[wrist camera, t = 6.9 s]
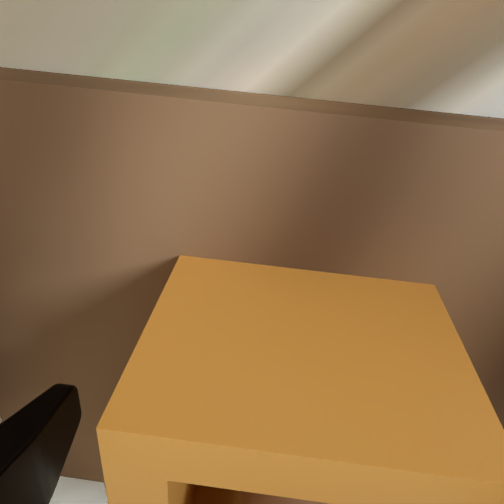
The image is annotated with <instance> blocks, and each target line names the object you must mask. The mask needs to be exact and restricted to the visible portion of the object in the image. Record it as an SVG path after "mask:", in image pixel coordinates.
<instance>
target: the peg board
mask: <svg viewBox="0 0 504 504" xmlns="http://www.w3.org/2000/svg"><path fill="white" fill-rule="evenodd" d="M180 255H183V256H191V257H200V258H208V259H217V260H225V261H234V262H243V263H251V264H260V265H268V266H277V267H286V268H294V269H303V270H311V271H320V272H329V273H337V274H346V275H354V276H363V277H372V278H380V279H389V280H397V281H406V282H415V283H423V284H432V285H435V287H436V289H437V291H438V293H439V295H440V297H441V299H442V302H443V304H444V306H445V308H446V310H447V312H448V314H449V316H450V318H451V320H452V322H453V325H454V327H455V329H456V331H457V333H458V335H459V337H460V339H461V341H462V343H463V345H464V347H465V350H466V352H467V354H468V356H469V358H470V360H471V362H472V364H473V366H474V368H475V370H476V373H477V375H478V377H479V379H480V381H481V383H482V385H483V387H484V389H485V391H486V393H487V396H488V398H489V400H490V402H491V404H492V406H493V408H494V410H495V412H496V414H497V416H498V419H499V421H500V423H501V425H502V427H503V429H504V119H501V118H491V117H481V116H471V115H462V114H452V113H442V112H432V111H423V110H413V109H403V108H393V107H383V106H374V105H364V104H354V103H344V102H335V101H325V100H315V99H305V98H295V97H286V96H276V95H266V94H256V93H247V92H237V91H227V90H217V89H207V88H198V87H188V86H178V85H168V84H159V83H149V82H139V81H129V80H119V79H110V78H100V77H90V76H80V75H71V74H61V73H51V72H41V71H31V70H22V69H12V68H2V67H0V415H1V418H2V421H5V420H6V419H7V418H9V417H10V416H12V415H13V414H14V413H16V412H17V411H18V410H20V409H21V408H23V407H24V406H25V405H27V404H28V403H29V402H31V401H32V400H34V399H35V398H36V397H38V396H39V395H40V394H42V393H43V392H45V391H46V390H47V389H49V388H50V387H52V386H53V385H55V384H58V383H62V384H69V385H74V386H76V387H77V389H78V394H79V399H80V405H81V412H82V413H81V420H80V423H79V426H78V429H77V432H76V434H75V437H74V440H73V442H72V445H71V448H70V450H69V453H68V456H67V458H66V461H65V464H64V467H63V469H62V472H61V475H60V476H65V477H71V478H78V479H85V480H92V481H99V482H104V475H103V469H102V463H101V457H100V450H99V444H98V438H97V431H96V427H97V425H98V423H99V421H100V419H101V417H102V415H103V413H104V411H105V409H106V407H107V404H108V402H109V400H110V398H111V396H112V394H113V392H114V390H115V388H116V386H117V384H118V382H119V380H120V378H121V376H122V374H123V371H124V369H125V367H126V365H127V363H128V361H129V359H130V357H131V355H132V353H133V351H134V349H135V347H136V345H137V343H138V341H139V339H140V336H141V334H142V332H143V330H144V328H145V326H146V324H147V322H148V320H149V318H150V316H151V314H152V312H153V310H154V308H155V306H156V303H157V301H158V299H159V297H160V295H161V293H162V291H163V289H164V287H165V285H166V283H167V281H168V279H169V277H170V275H171V273H172V271H173V268H174V266H175V264H176V262H177V260H178V258H179V256H180ZM238 504H329V503H322V502H315V501H308V500H301V499H294V498H287V497H280V496H273V495H266V494H259V493H252V492H245V491H239V497H238Z"/></svg>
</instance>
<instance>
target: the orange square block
mask: <svg viewBox="0 0 504 504" xmlns="http://www.w3.org/2000/svg"><path fill="white" fill-rule="evenodd" d="M96 431H97V438H98V444H99V450H100V457H101V463H102V469H103V475H104V482H105V488H106V494H107V501H108V504H238V497H239V491H245V492H252V493H259V494H266V495H273V496H280V497H287V498H294V499H301V500H308V501H315V502H322V503H329V504H504V429H503V427H502V425H501V423H500V421H499V419H498V416H497V414H496V412H495V410H494V408H493V406H492V404H491V402H490V400H489V398H488V396H487V393H486V391H485V389H484V387H483V385H482V383H481V381H480V379H479V377H478V375H477V373H476V370H475V368H474V366H473V364H472V362H471V360H470V358H469V356H468V354H467V352H466V350H465V347H464V345H463V343H462V341H461V339H460V337H459V335H458V333H457V331H456V329H455V327H454V325H453V322H452V320H451V318H450V316H449V314H448V312H447V310H446V308H445V306H444V304H443V302H442V299H441V297H440V295H439V293H438V291H437V289H436V287H435V285H432V284H423V283H415V282H406V281H397V280H389V279H380V278H372V277H363V276H354V275H346V274H337V273H329V272H320V271H311V270H303V269H294V268H286V267H277V266H268V265H260V264H251V263H243V262H234V261H225V260H217V259H208V258H200V257H191V256H183V255H180V256H179V258H178V260H177V262H176V264H175V266H174V268H173V271H172V273H171V275H170V277H169V279H168V281H167V283H166V285H165V287H164V289H163V291H162V293H161V295H160V297H159V299H158V301H157V303H156V306H155V308H154V310H153V312H152V314H151V316H150V318H149V320H148V322H147V324H146V326H145V328H144V330H143V332H142V334H141V336H140V339H139V341H138V343H137V345H136V347H135V349H134V351H133V353H132V355H131V357H130V359H129V361H128V363H127V365H126V367H125V369H124V371H123V374H122V376H121V378H120V380H119V382H118V384H117V386H116V388H115V390H114V392H113V394H112V396H111V398H110V400H109V402H108V404H107V407H106V409H105V411H104V413H103V415H102V417H101V419H100V421H99V423H98V425H97V427H96Z"/></svg>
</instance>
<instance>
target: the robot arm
mask: <svg viewBox="0 0 504 504" xmlns="http://www.w3.org/2000/svg"><path fill="white" fill-rule="evenodd" d="M81 413H82V412H81V405H80V399H79V394H78V389H77V387H76V386H74V385H69V384H62V383H58V384H55V385H53V386H52V387H50V388H49V389H47V390H46V391H45V392H43V393H42V394H40V395H39V396H38V397H36V398H35V399H34V400H32V401H31V402H29V403H28V404H27V405H25V406H24V407H23V408H21V409H20V410H18V411H17V412H16V413H14V414H13V415H12V416H10V417H9V418H7V419H6V420H5V421H3V422H2V423H0V504H49V502H50V500H51V497H52V495H53V493H54V490H55V488H56V485H57V483H58V480H59V477H60V475H61V472H62V469H63V467H64V464H65V461H66V458H67V456H68V453H69V450H70V448H71V445H72V442H73V440H74V437H75V434H76V432H77V429H78V426H79V423H80V420H81Z"/></svg>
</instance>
